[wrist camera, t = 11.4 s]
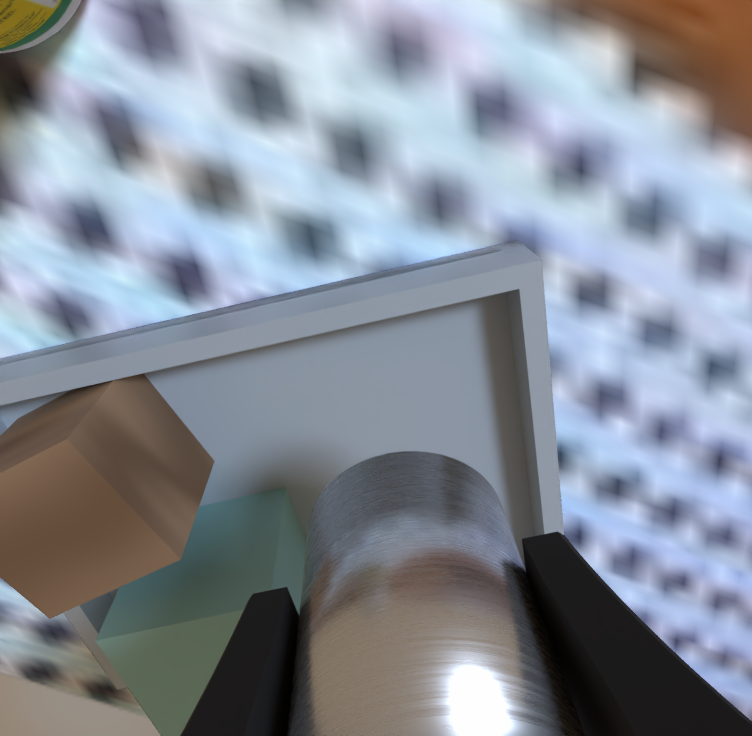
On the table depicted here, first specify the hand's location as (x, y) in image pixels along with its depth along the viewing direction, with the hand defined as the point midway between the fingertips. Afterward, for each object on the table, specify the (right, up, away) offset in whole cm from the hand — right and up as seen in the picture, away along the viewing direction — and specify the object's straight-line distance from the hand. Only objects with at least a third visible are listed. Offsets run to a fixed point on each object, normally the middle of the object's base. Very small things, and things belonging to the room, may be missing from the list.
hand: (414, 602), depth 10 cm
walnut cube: (-8, +2, +7) cm, 11 cm away
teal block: (-5, -2, +9) cm, 11 cm away
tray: (-3, +1, +8) cm, 9 cm away
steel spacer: (0, +1, +2) cm, 2 cm away
